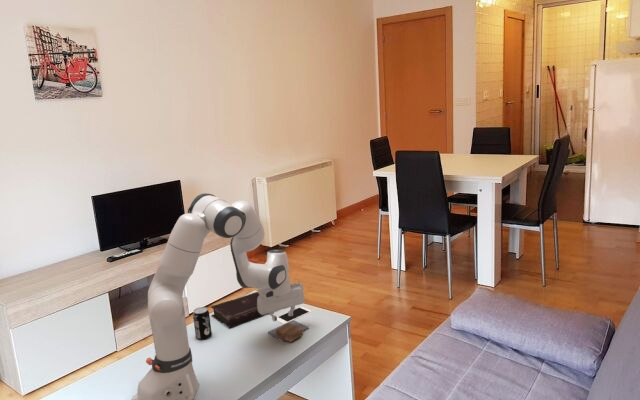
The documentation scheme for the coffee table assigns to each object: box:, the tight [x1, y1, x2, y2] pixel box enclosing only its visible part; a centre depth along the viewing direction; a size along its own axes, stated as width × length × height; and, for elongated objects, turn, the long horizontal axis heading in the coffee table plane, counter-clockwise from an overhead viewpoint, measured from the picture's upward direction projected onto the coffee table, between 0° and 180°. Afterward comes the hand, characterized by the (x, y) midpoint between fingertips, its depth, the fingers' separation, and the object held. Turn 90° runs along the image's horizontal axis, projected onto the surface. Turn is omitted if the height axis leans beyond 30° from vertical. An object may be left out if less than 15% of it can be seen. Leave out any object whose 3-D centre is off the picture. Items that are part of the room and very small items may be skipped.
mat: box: [267, 319, 310, 342], centre depth 214 cm, size 14×10×1 cm
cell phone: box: [276, 305, 313, 325], centre depth 228 cm, size 8×16×1 cm, turn 132°
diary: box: [210, 291, 270, 329], centre depth 233 cm, size 19×25×5 cm
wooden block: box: [276, 323, 304, 343], centre depth 208 cm, size 3×7×8 cm
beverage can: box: [192, 306, 213, 341], centre depth 213 cm, size 7×7×12 cm
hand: (282, 318), depth 213 cm, fingers open, 6 cm apart
